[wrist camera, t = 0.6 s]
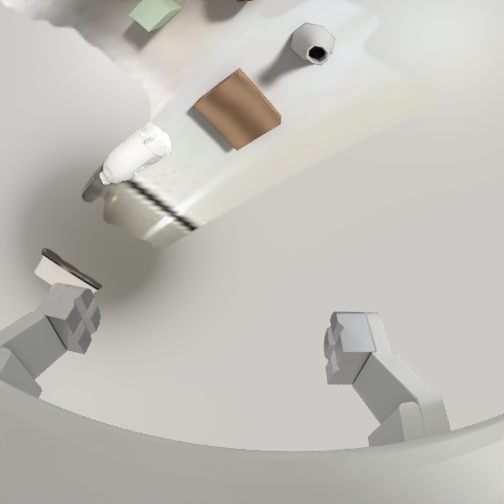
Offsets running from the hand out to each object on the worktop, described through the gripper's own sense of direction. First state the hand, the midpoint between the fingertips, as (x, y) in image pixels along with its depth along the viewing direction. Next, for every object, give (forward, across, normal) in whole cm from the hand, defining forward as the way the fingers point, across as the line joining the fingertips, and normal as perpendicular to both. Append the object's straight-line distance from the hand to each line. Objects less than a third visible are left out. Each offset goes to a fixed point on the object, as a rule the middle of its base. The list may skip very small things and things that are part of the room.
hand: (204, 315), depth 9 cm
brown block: (+50, +4, 0) cm, 50 cm away
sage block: (+44, +17, -19) cm, 51 cm away
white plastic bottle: (+54, +26, +10) cm, 61 cm away
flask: (+46, -8, -13) cm, 48 cm away
